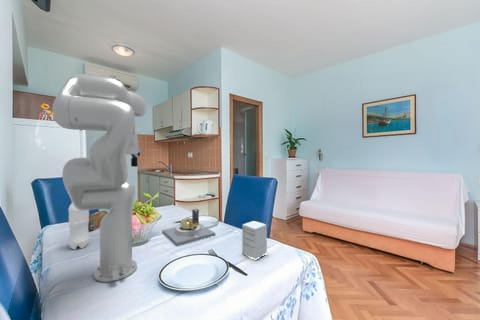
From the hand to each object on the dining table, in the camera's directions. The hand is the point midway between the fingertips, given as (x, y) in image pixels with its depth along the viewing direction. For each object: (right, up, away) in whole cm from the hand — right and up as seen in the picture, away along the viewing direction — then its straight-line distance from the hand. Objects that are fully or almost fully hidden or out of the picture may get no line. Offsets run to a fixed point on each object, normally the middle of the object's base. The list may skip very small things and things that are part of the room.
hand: (125, 167), depth 94 cm
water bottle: (-18, -35, -4) cm, 40 cm away
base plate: (+26, -35, +12) cm, 45 cm away
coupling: (+27, -33, +10) cm, 44 cm away
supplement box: (+58, -36, -10) cm, 69 cm away
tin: (-27, -35, +21) cm, 49 cm away
